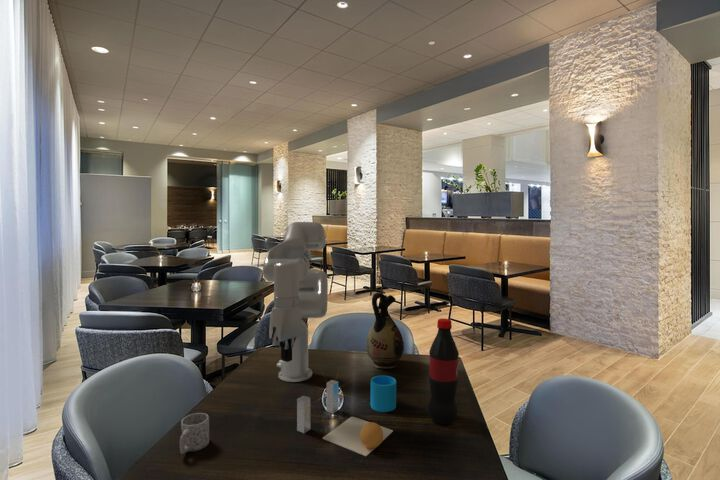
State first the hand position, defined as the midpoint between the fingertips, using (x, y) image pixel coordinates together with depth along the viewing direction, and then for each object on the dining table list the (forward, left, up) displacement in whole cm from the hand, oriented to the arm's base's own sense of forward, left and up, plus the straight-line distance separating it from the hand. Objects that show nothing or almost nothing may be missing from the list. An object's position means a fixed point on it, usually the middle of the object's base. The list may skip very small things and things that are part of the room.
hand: (286, 360), depth 119 cm
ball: (+33, -2, -12) cm, 35 cm away
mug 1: (-5, -29, -15) cm, 33 cm away
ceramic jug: (+7, +48, -15) cm, 51 cm away
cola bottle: (+43, +21, -15) cm, 50 cm away
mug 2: (+23, +20, -15) cm, 34 cm away
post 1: (+13, -7, -15) cm, 21 cm away
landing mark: (+27, 0, -15) cm, 31 cm away
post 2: (+13, +7, -15) cm, 21 cm away
